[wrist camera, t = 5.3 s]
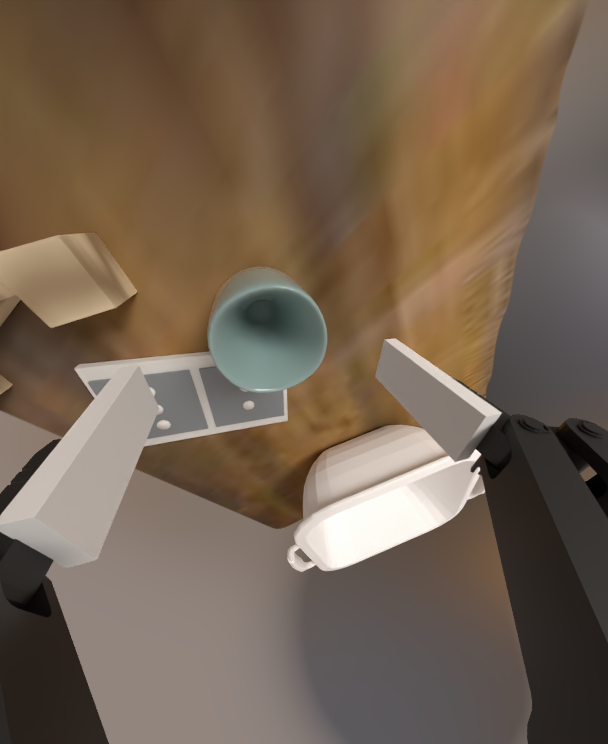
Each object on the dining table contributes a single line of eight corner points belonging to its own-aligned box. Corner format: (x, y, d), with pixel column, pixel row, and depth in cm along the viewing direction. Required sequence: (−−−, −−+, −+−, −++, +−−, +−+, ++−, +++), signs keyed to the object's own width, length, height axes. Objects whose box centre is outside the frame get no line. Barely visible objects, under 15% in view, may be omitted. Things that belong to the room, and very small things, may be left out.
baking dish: (444, 374, 36) (525, 433, 26) (427, 460, 53) (472, 516, 43) (251, 449, 34) (258, 545, 24) (297, 514, 51) (313, 585, 41)
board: (78, 364, 21) (70, 371, 20) (284, 344, 25) (286, 349, 24) (132, 443, 28) (128, 452, 27) (286, 416, 32) (288, 423, 31)
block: (34, 250, 16) (-23, 257, 12) (96, 232, 16) (58, 235, 13) (86, 307, 19) (50, 328, 15) (138, 291, 19) (115, 307, 15)
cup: (238, 347, 24) (241, 408, 16) (200, 275, 19) (178, 312, 11) (304, 323, 24) (337, 371, 17) (282, 247, 20) (315, 264, 12)
